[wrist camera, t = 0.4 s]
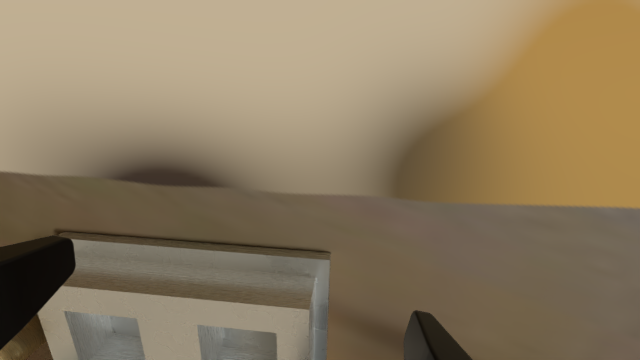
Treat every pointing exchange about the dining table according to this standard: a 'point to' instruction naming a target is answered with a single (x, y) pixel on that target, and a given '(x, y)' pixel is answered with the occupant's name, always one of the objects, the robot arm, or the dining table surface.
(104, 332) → the aluminium jig
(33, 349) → the solid brass peg
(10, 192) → the dining table surface
